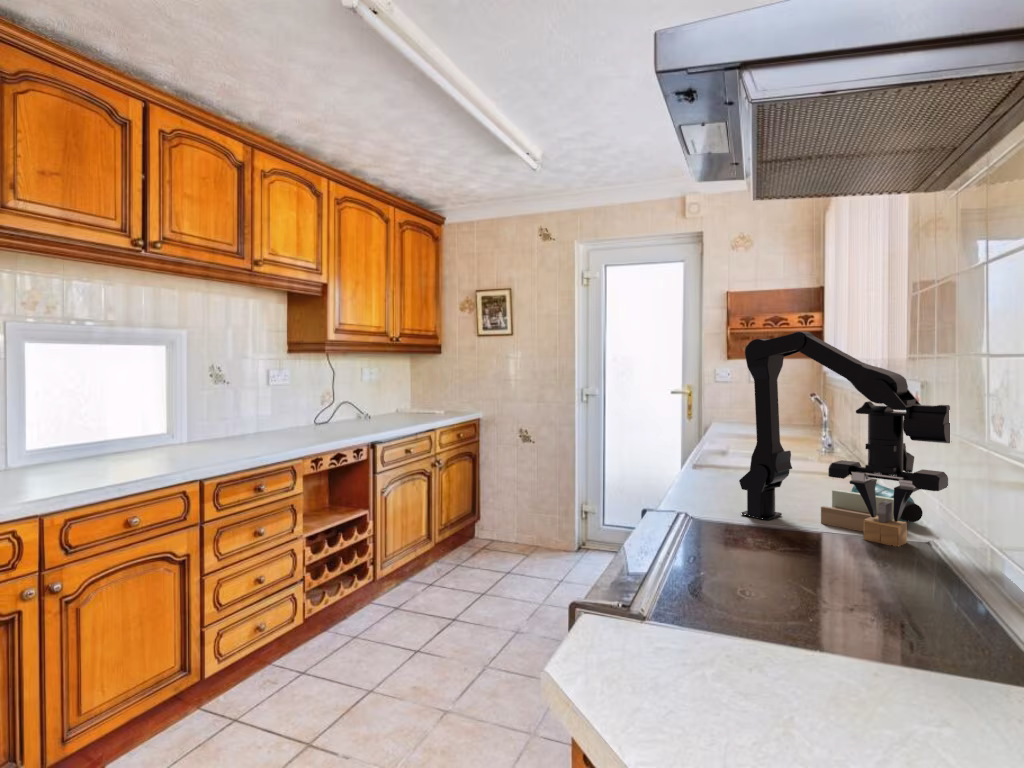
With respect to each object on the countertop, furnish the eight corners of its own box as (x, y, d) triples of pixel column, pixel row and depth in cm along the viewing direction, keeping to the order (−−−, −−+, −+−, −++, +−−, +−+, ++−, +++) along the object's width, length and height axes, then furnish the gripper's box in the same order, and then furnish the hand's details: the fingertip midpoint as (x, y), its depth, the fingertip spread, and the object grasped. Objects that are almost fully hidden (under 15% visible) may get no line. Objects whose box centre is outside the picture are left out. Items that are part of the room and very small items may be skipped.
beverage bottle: (880, 490, 140) (937, 511, 120) (860, 511, 140) (915, 535, 120) (859, 472, 140) (913, 490, 120) (840, 493, 140) (891, 514, 120)
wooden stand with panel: (880, 535, 116) (880, 505, 116) (818, 522, 126) (818, 494, 126) (895, 527, 121) (896, 498, 121) (835, 516, 131) (835, 489, 131)
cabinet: (898, 547, 109) (898, 507, 109) (863, 540, 114) (863, 502, 113) (906, 543, 112) (907, 504, 111) (872, 535, 116) (872, 498, 116)
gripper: (958, 438, 110) (957, 521, 110) (851, 430, 124) (850, 503, 125) (938, 444, 103) (937, 533, 103) (827, 435, 117) (827, 512, 118)
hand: (885, 519), depth 113 cm, fingers open, 4 cm apart
